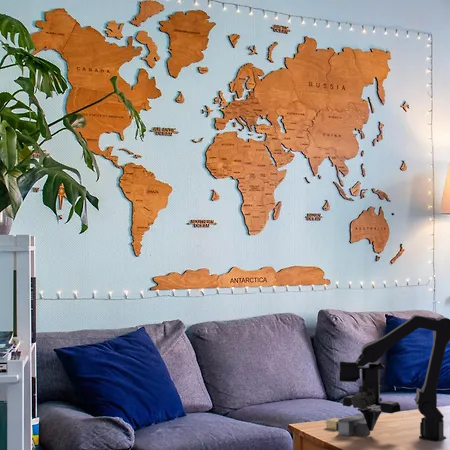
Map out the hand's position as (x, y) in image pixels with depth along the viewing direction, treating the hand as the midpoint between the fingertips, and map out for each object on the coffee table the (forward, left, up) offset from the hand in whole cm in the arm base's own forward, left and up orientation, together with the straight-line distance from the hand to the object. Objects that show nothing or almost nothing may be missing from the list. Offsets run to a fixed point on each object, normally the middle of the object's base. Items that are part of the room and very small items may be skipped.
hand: (371, 430), depth 238 cm
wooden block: (+14, 0, -2) cm, 15 cm away
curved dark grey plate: (+7, 0, -2) cm, 7 cm away
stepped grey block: (+7, 0, -2) cm, 7 cm away
